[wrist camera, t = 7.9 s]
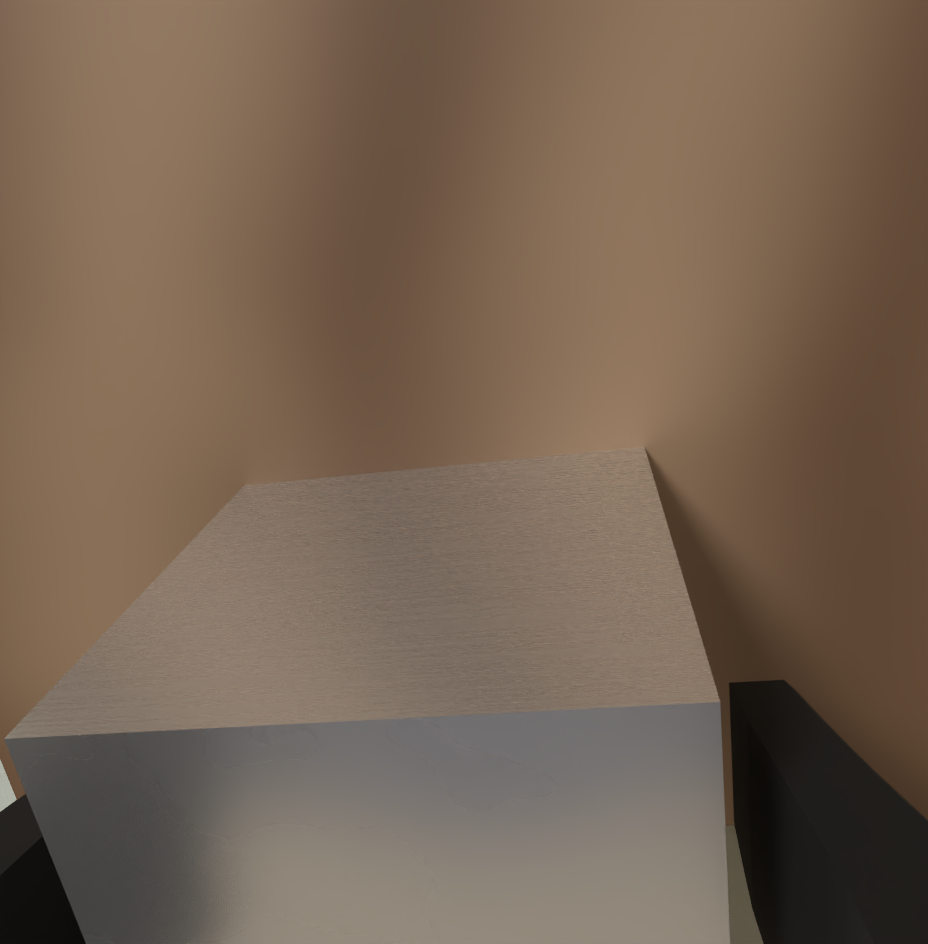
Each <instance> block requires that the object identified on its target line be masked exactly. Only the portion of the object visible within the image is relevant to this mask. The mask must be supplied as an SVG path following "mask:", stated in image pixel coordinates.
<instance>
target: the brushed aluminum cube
mask: <svg viewBox="0 0 928 944" xmlns="http://www.w3.org/2000/svg"><path fill="white" fill-rule="evenodd" d="M4 740H5V743H6V745H7V748H8V750H9V753H10V755H11V758H12V760H13V763H14V765H15V768H16V770H17V773H18V775H19V778H20V780H21V783H22V785H23V788H24V790H25V793H26V795H27V798H28V800H29V803H30V805H31V808H32V810H33V813H34V815H35V818H36V820H37V823H38V825H39V828H40V830H41V833H42V835H43V838H44V840H45V843H46V845H47V848H48V850H49V853H50V855H51V858H52V860H53V863H54V865H55V868H56V870H57V872H58V875H59V877H60V880H61V882H62V885H63V887H64V890H65V892H66V895H67V897H68V900H69V902H70V905H71V907H72V910H73V912H74V915H75V917H76V920H77V922H78V925H79V927H80V930H81V932H82V935H83V937H84V940H85V942H86V944H730V926H729V901H728V877H727V853H726V828H725V804H724V780H723V755H722V731H721V706H720V699H719V696H718V692H717V689H716V686H715V682H714V679H713V676H712V672H711V669H710V666H709V662H708V659H707V656H706V652H705V649H704V645H703V642H702V639H701V635H700V632H699V629H698V625H697V622H696V619H695V615H694V612H693V609H692V605H691V602H690V598H689V595H688V592H687V588H686V585H685V582H684V578H683V575H682V572H681V568H680V565H679V562H678V558H677V555H676V551H675V548H674V545H673V541H672V538H671V535H670V531H669V528H668V525H667V521H666V518H665V515H664V511H663V508H662V504H661V501H660V498H659V494H658V491H657V488H656V484H655V481H654V478H653V474H652V471H651V468H650V464H649V461H648V457H647V454H646V451H645V447H638V448H627V449H617V450H607V451H596V452H586V453H576V454H565V455H555V456H545V457H534V458H524V459H514V460H503V461H493V462H483V463H472V464H462V465H452V466H442V467H431V468H421V469H411V470H400V471H390V472H380V473H369V474H359V475H349V476H338V477H328V478H318V479H307V480H297V481H287V482H276V483H266V484H256V485H245V486H243V487H242V488H241V489H240V490H239V491H238V493H237V494H236V495H235V496H234V497H233V498H232V499H231V500H230V501H229V502H228V503H227V504H226V505H225V506H224V507H223V508H222V509H221V510H220V511H219V513H218V514H217V515H216V516H215V517H214V518H213V519H212V520H211V521H210V522H209V523H208V524H207V525H206V526H205V527H204V528H203V529H202V530H201V532H200V533H199V534H198V535H197V536H196V537H195V538H194V539H193V540H192V541H191V542H190V543H189V544H188V545H187V546H186V547H185V548H184V549H183V551H182V552H181V553H180V554H179V555H178V556H177V557H176V558H175V559H174V560H173V561H172V562H171V563H170V564H169V565H168V566H167V567H166V568H165V570H164V571H163V572H162V573H161V574H160V575H159V576H158V577H157V578H156V579H155V580H154V581H153V582H152V583H151V584H150V585H149V586H148V587H147V588H146V590H145V591H144V592H143V593H142V594H141V595H140V596H139V597H138V598H137V599H136V600H135V601H134V602H133V603H132V604H131V605H130V606H129V607H128V609H127V610H126V611H125V612H124V613H123V614H122V615H121V616H120V617H119V618H118V619H117V620H116V621H115V622H114V623H113V624H112V625H111V626H110V628H109V629H108V630H107V631H106V632H105V633H104V634H103V635H102V636H101V637H100V638H99V639H98V640H97V641H96V642H95V643H94V644H93V645H92V646H91V648H90V649H89V650H88V651H87V652H86V653H85V654H84V655H83V656H82V657H81V658H80V659H79V660H78V661H77V662H76V663H75V664H74V665H73V667H72V668H71V669H70V670H69V671H68V672H67V673H66V674H65V675H64V676H63V677H62V678H61V679H60V680H59V681H58V682H57V683H56V684H55V686H54V687H53V688H52V689H51V690H50V691H49V692H48V693H47V694H46V695H45V696H44V697H43V698H42V699H41V700H40V701H39V702H38V703H37V705H36V706H35V707H34V708H33V709H32V710H31V711H30V712H29V713H28V714H27V715H26V716H25V717H24V718H23V719H22V720H21V721H20V722H19V723H18V725H17V726H16V727H15V728H14V729H13V730H12V731H11V732H10V733H9V734H8V735H7V736H6V737H5V738H4Z"/></svg>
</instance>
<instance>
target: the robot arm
mask: <svg viewBox="0 0 928 944" xmlns="http://www.w3.org/2000/svg"><path fill="white" fill-rule="evenodd" d="M729 698H730V726H731V753H732V781H733V808H734V824H735V829H736V834H737V839H738V844H739V848H740V853H741V858H742V863H743V867H744V872H745V877H746V881H747V886H748V890H749V895H750V899H751V904H752V908H753V912H754V915H755V918H756V921H757V924H758V927H759V931H760V934H761V937H762V940H763V943H764V944H928V820H927V819H926V818H925V817H924V816H923V815H922V814H921V813H920V812H919V811H917V810H916V809H915V808H914V807H913V806H912V805H911V804H910V803H909V802H908V801H907V800H906V799H904V798H903V797H902V796H901V795H900V794H899V793H898V792H897V791H896V790H895V789H894V788H893V787H892V786H890V785H889V784H888V783H887V782H886V781H885V780H884V779H883V778H882V777H881V776H880V775H879V774H878V773H877V772H875V771H874V770H873V769H872V768H871V767H870V766H869V765H868V764H867V763H866V762H865V761H864V760H863V759H862V758H861V757H860V756H859V755H858V754H857V753H856V752H855V751H854V750H853V749H852V748H851V747H850V746H849V745H848V744H847V743H846V742H845V741H844V740H843V739H842V738H841V737H840V736H839V735H838V734H837V733H836V732H835V731H834V730H833V729H832V728H831V727H830V726H829V725H828V724H827V723H826V722H825V721H824V720H823V718H822V717H821V716H820V715H819V714H818V713H817V712H816V711H815V710H814V709H813V708H812V707H811V706H810V705H809V704H808V703H807V702H806V701H805V699H804V698H803V697H802V696H801V695H800V694H799V693H798V692H797V691H796V690H795V689H794V688H793V687H792V686H791V685H790V684H788V683H787V682H786V681H785V680H768V681H750V682H731V683H729ZM0 944H86V942H85V940H84V937H83V935H82V932H81V930H80V927H79V925H78V922H77V920H76V917H75V915H74V912H73V910H72V907H71V905H70V902H69V900H68V897H67V895H66V892H65V890H64V887H63V885H62V882H61V880H60V877H59V875H58V872H57V870H56V868H55V865H54V863H53V860H52V858H51V855H50V853H49V850H48V848H47V845H46V843H45V840H44V838H43V835H42V833H41V830H40V828H39V825H38V823H37V820H36V818H35V815H34V813H33V810H32V808H31V805H30V803H29V800H28V798H27V795H26V794H24V795H23V796H22V797H20V798H19V799H18V800H16V801H15V802H13V803H12V804H11V805H9V806H8V807H7V808H5V809H4V810H2V811H1V812H0Z"/></svg>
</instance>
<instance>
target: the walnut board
mask: <svg viewBox="0 0 928 944" xmlns="http://www.w3.org/2000/svg"><path fill="white" fill-rule="evenodd" d="M638 447H645V451H646V454H647V457H648V461H649V464H650V468H651V471H652V474H653V478H654V481H655V484H656V488H657V491H658V494H659V498H660V501H661V504H662V508H663V511H664V515H665V518H666V521H667V525H668V528H669V531H670V535H671V538H672V541H673V545H674V548H675V551H676V555H677V558H678V562H679V565H680V568H681V572H682V575H683V578H684V582H685V585H686V588H687V592H688V595H689V598H690V602H691V605H692V609H693V612H694V615H695V619H696V622H697V625H698V629H699V632H700V635H701V639H702V642H703V645H704V649H705V652H706V656H707V659H708V662H709V666H710V669H711V672H712V676H713V679H714V682H715V686H716V689H717V692H718V696H719V699H720V706H721V731H722V755H723V780H724V804H725V825H735V824H734V808H733V781H732V753H731V726H730V698H729V683H731V682H750V681H768V680H785V681H786V682H787V683H788V684H790V685H791V686H792V687H793V688H794V689H795V690H796V691H797V692H798V693H799V694H800V695H801V696H802V697H803V698H804V699H805V701H806V702H807V703H808V704H809V705H810V706H811V707H812V708H813V709H814V710H815V711H816V712H817V713H818V714H819V715H820V716H821V717H822V718H823V720H824V721H825V722H826V723H827V724H828V725H829V726H830V727H831V728H832V729H833V730H834V731H835V732H836V733H837V734H838V735H839V736H840V737H841V738H842V739H843V740H844V741H845V742H846V743H847V744H848V745H849V746H850V747H851V748H852V749H853V750H854V751H855V752H856V753H857V754H858V755H859V756H860V757H861V758H862V759H863V760H864V761H865V762H866V763H867V764H868V765H869V766H870V767H871V768H872V769H873V770H874V771H875V772H877V773H878V774H879V775H880V776H881V777H882V778H883V779H884V780H885V781H886V782H887V783H888V784H889V785H890V786H892V787H893V788H894V789H895V790H896V791H897V792H898V793H899V794H900V795H901V796H902V797H903V798H904V799H906V800H907V801H908V802H909V803H910V804H911V805H912V806H913V807H914V808H915V809H916V810H917V811H919V812H920V813H921V814H922V815H923V816H924V817H925V818H926V819H928V0H0V759H1V762H2V764H3V767H4V769H5V771H6V774H7V776H8V779H9V781H10V784H11V786H12V789H13V791H14V794H15V796H16V799H17V800H18V799H19V798H20V797H22V796H23V795H24V794H26V793H25V790H24V788H23V785H22V783H21V780H20V778H19V775H18V773H17V770H16V768H15V765H14V763H13V760H12V758H11V755H10V753H9V750H8V748H7V745H6V743H5V740H4V738H5V737H6V736H7V735H8V734H9V733H10V732H11V731H12V730H13V729H14V728H15V727H16V726H17V725H18V723H19V722H20V721H21V720H22V719H23V718H24V717H25V716H26V715H27V714H28V713H29V712H30V711H31V710H32V709H33V708H34V707H35V706H36V705H37V703H38V702H39V701H40V700H41V699H42V698H43V697H44V696H45V695H46V694H47V693H48V692H49V691H50V690H51V689H52V688H53V687H54V686H55V684H56V683H57V682H58V681H59V680H60V679H61V678H62V677H63V676H64V675H65V674H66V673H67V672H68V671H69V670H70V669H71V668H72V667H73V665H74V664H75V663H76V662H77V661H78V660H79V659H80V658H81V657H82V656H83V655H84V654H85V653H86V652H87V651H88V650H89V649H90V648H91V646H92V645H93V644H94V643H95V642H96V641H97V640H98V639H99V638H100V637H101V636H102V635H103V634H104V633H105V632H106V631H107V630H108V629H109V628H110V626H111V625H112V624H113V623H114V622H115V621H116V620H117V619H118V618H119V617H120V616H121V615H122V614H123V613H124V612H125V611H126V610H127V609H128V607H129V606H130V605H131V604H132V603H133V602H134V601H135V600H136V599H137V598H138V597H139V596H140V595H141V594H142V593H143V592H144V591H145V590H146V588H147V587H148V586H149V585H150V584H151V583H152V582H153V581H154V580H155V579H156V578H157V577H158V576H159V575H160V574H161V573H162V572H163V571H164V570H165V568H166V567H167V566H168V565H169V564H170V563H171V562H172V561H173V560H174V559H175V558H176V557H177V556H178V555H179V554H180V553H181V552H182V551H183V549H184V548H185V547H186V546H187V545H188V544H189V543H190V542H191V541H192V540H193V539H194V538H195V537H196V536H197V535H198V534H199V533H200V532H201V530H202V529H203V528H204V527H205V526H206V525H207V524H208V523H209V522H210V521H211V520H212V519H213V518H214V517H215V516H216V515H217V514H218V513H219V511H220V510H221V509H222V508H223V507H224V506H225V505H226V504H227V503H228V502H229V501H230V500H231V499H232V498H233V497H234V496H235V495H236V494H237V493H238V491H239V490H240V489H241V488H242V487H243V486H245V485H256V484H266V483H276V482H287V481H297V480H307V479H318V478H328V477H338V476H349V475H359V474H369V473H380V472H390V471H400V470H411V469H421V468H431V467H442V466H452V465H462V464H472V463H483V462H493V461H503V460H514V459H524V458H534V457H545V456H555V455H565V454H576V453H586V452H596V451H607V450H617V449H627V448H638Z"/></svg>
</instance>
